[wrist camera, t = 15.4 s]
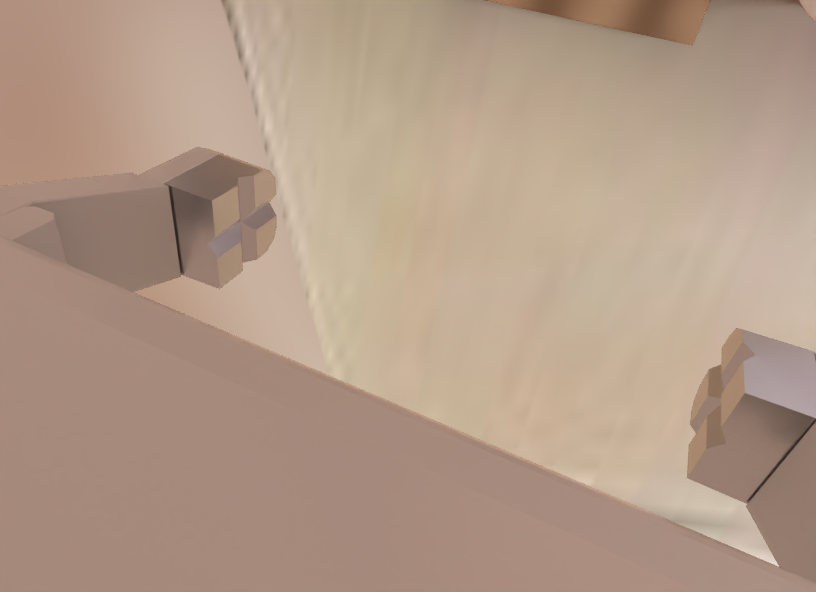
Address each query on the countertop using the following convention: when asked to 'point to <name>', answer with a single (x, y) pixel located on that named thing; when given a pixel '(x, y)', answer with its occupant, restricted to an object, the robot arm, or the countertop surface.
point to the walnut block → (628, 15)
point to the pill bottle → (809, 7)
